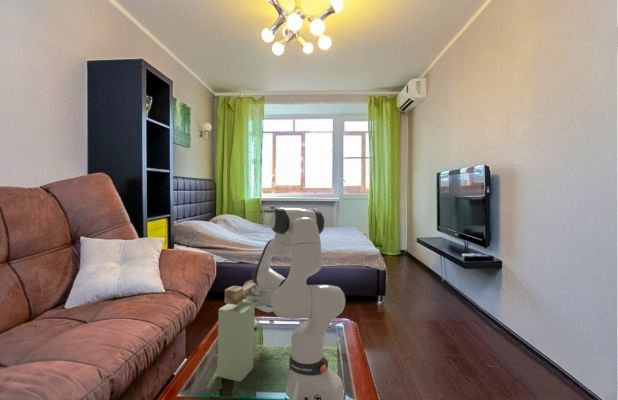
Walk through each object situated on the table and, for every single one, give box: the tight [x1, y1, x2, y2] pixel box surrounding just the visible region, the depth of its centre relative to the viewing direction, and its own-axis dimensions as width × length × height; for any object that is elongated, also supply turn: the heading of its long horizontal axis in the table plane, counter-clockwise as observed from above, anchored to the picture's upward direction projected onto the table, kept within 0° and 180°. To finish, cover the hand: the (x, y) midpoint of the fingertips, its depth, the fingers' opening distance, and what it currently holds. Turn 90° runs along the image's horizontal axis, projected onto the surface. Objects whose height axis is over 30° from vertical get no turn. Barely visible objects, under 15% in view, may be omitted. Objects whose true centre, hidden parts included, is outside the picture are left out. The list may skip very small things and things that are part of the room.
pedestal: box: [216, 302, 256, 382], centre depth 131 cm, size 10×10×26 cm
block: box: [224, 283, 256, 305], centre depth 133 cm, size 5×18×5 cm, turn 162°
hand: (246, 289), depth 137 cm, fingers closed on block, 3 cm apart
